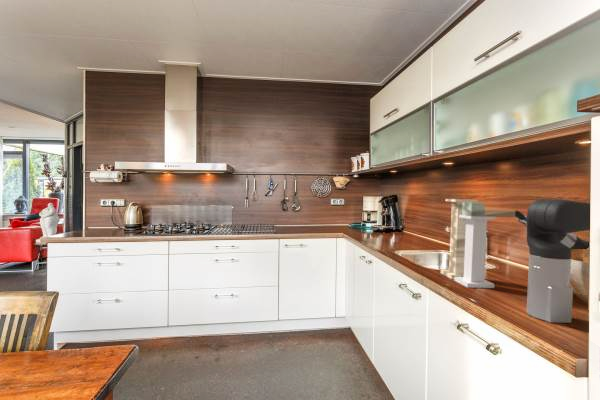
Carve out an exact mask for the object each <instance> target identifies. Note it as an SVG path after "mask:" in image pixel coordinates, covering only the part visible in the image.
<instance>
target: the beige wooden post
mask: <svg viewBox="0 0 600 400" xmlns="http://www.w3.org/2000/svg"><path fill="white" fill-rule="evenodd" d="M478 201H479V200H478V199H460V198H458V199H457V198H445V202H449V203H450V202H451V214H450V215H451V217H450V234H449V235H450V237H449V238H450V239H449V263H448V269H440V274H441V275H443V276H445V277H447V278H449V279H450V280H454V277H464V256H465V234H466V218H460V217H459V215H462V204H463V202H473V203H479V202H478Z"/></svg>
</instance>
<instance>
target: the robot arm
mask: <svg viewBox="0 0 600 400" xmlns="http://www.w3.org/2000/svg"><path fill="white" fill-rule="evenodd" d="M514 211H515V217H514V218H517V222H519V223H520V224H522V225H524V226H526V243H527V246H528V249H529V257H528V271H527V272H528V275H527V276H528V277H527V293H526V294H527V296H526V313H527V314H528V315H529V316H531V317H533V318H535V319H538V320H543V321H545V322H548V323H558V324H560V323H563V324H565V323H568V324H571V323H572V313H573V312H572V311H573V296H574V295H573V294H574V288H572V287H571V285H570V284H571V269H572V268H571V267H572V266H571V265H572V255H571V249H587V248H588V247H589V242H590V241H587V240H584V239H582V238H580V237H579V236H578V235H576V234H574V233H580V232H586V231H591V230H590V203H589V202H581V201H577V200H575V201H574V200H569V199H568V200H567V199H555V198H554V199H553V198H552V199H551V198H543V199H541V198H540V199H536V200H534V201H532V203H531V204H530V205H529V206H528V209H527V212H526V215H525V214H524V213H522V212H520V211H519V210H514ZM570 248H571V249H570Z"/></svg>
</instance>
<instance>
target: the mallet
mask: <svg viewBox="0 0 600 400" xmlns="http://www.w3.org/2000/svg"><path fill="white" fill-rule="evenodd" d="M515 211H516V210H507V209H506V210H505V209H486V203H485V202H463V204H462V215H465V216H479V217H484V216H489V217H495V218H498V217H499V218H516V217H515Z"/></svg>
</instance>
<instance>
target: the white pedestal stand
mask: <svg viewBox="0 0 600 400" xmlns="http://www.w3.org/2000/svg"><path fill="white" fill-rule="evenodd" d="M459 217H460V218H466V234H465V256H464V277H454V279H453V281H454V282H456V283H459V284H460V285H462V286H464V287H466V288H471V289H472V288H473V289H476V288H477V289H495V283H493V282H490V281H489V280H486V279H485V277H486V276H485V275H486V273H485V271H486V270H485V269H486V252H487V251H486V250H487V249H486V248H487V230H488V228H487V226H488V220H489V221H492V220H493V221H495V220H496V217H489V216H484V217H479V216H465V215H459Z"/></svg>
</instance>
